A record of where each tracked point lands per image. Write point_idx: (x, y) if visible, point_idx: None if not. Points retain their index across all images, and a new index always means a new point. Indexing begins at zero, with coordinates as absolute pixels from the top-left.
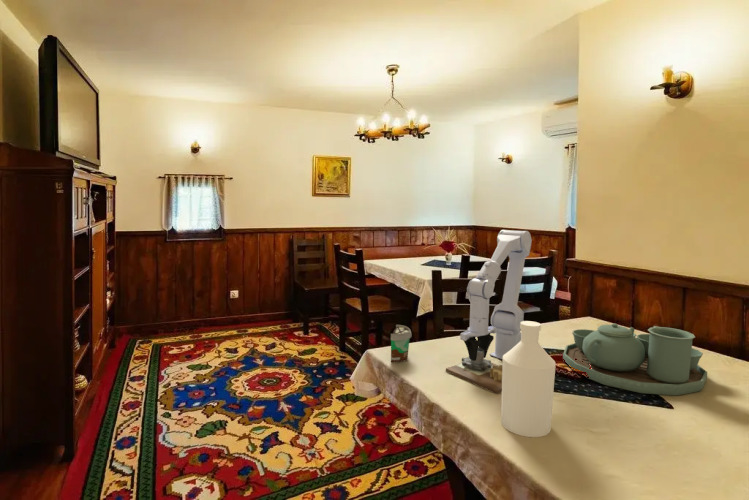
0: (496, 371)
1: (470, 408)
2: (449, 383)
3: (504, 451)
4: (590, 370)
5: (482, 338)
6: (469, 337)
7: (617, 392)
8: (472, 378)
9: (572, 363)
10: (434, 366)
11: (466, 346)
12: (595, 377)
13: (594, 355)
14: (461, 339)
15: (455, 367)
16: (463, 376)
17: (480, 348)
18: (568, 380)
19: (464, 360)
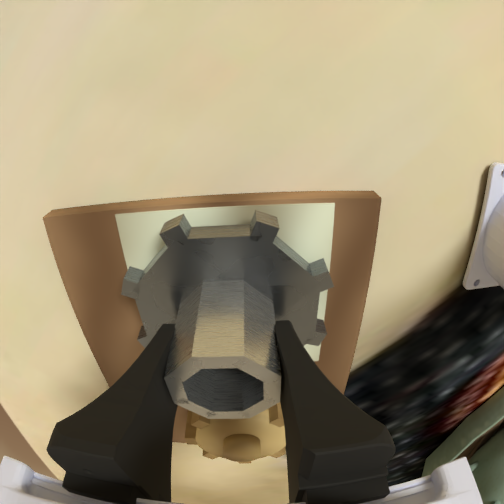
0: (196, 440)
1: (39, 419)
2: (23, 317)
3: (52, 471)
4: (447, 461)
5: (293, 470)
6: (81, 501)
7: (402, 474)
8: (109, 366)
9: (487, 421)
10: (33, 114)
11: (109, 388)
12: (436, 458)
13: (476, 479)
14: (11, 463)
15: (98, 236)
16: (84, 332)
17: (266, 389)
18: (409, 438)
19: (152, 272)
